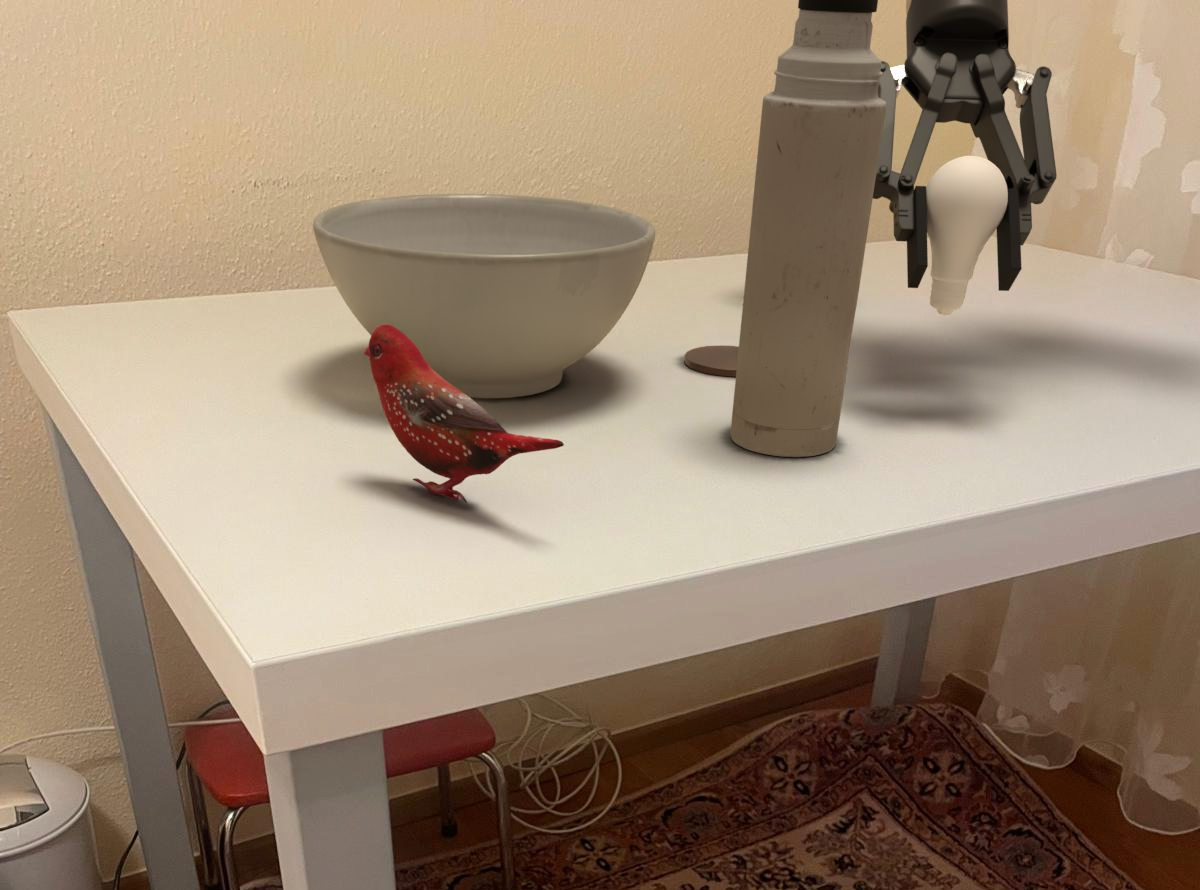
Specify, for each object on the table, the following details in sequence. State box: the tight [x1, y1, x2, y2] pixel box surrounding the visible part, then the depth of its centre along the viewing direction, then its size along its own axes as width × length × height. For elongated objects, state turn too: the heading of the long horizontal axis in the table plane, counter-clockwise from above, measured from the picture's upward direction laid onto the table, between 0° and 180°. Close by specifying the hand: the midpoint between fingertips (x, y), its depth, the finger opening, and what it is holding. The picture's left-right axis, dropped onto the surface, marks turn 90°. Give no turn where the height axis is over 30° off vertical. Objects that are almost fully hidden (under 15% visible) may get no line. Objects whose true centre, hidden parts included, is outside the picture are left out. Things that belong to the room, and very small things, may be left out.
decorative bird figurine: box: [363, 325, 565, 503], centre depth 75 cm, size 3×18×10 cm, turn 49°
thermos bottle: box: [729, 0, 886, 458], centre depth 82 cm, size 8×8×28 cm
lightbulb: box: [926, 155, 1008, 316], centre depth 90 cm, size 6×6×11 cm
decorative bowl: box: [312, 193, 656, 399], centre depth 98 cm, size 27×27×12 cm
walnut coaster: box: [684, 345, 739, 378], centre depth 107 cm, size 8×8×1 cm
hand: (963, 277), depth 88 cm, fingers closed on lightbulb, 6 cm apart
